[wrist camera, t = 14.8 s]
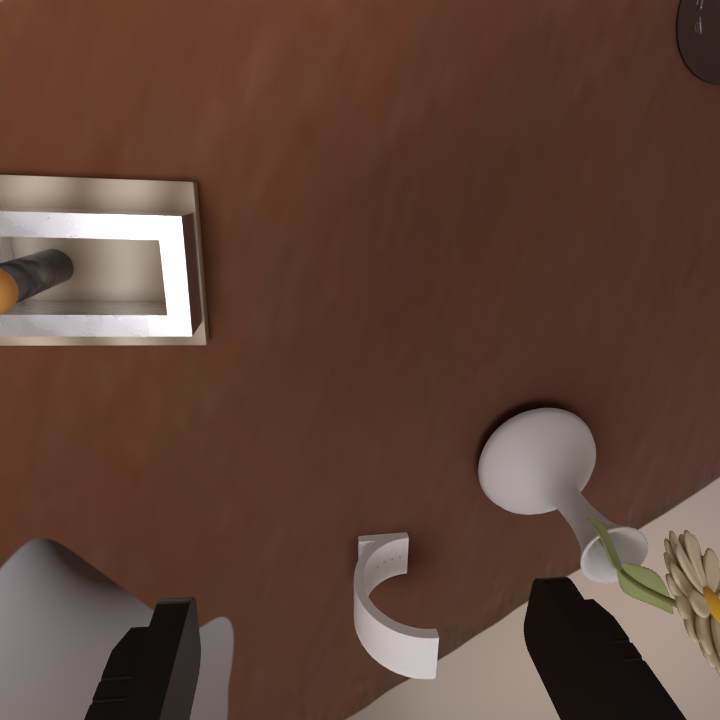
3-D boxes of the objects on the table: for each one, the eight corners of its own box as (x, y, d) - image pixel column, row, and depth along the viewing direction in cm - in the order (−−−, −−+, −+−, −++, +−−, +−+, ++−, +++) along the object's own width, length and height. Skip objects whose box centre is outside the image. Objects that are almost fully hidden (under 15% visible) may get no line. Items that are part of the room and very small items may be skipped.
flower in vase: (598, 468, 49) (871, 735, 25) (496, 518, 49) (671, 822, 26) (558, 364, 44) (851, 576, 21) (447, 421, 44) (607, 688, 21)
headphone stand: (405, 567, 50) (435, 679, 39) (347, 572, 50) (361, 687, 38) (407, 531, 49) (439, 638, 37) (347, 536, 48) (362, 645, 37)
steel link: (194, 212, 34) (181, 216, 30) (203, 320, 37) (192, 336, 33) (-21, 205, 32) (-62, 209, 29) (6, 319, 35) (-29, 336, 32)
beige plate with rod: (197, 181, 35) (155, 184, 25) (209, 339, 39) (177, 395, 29) (-45, 172, 33) (-197, 171, 23) (-4, 339, 37) (-118, 400, 27)
